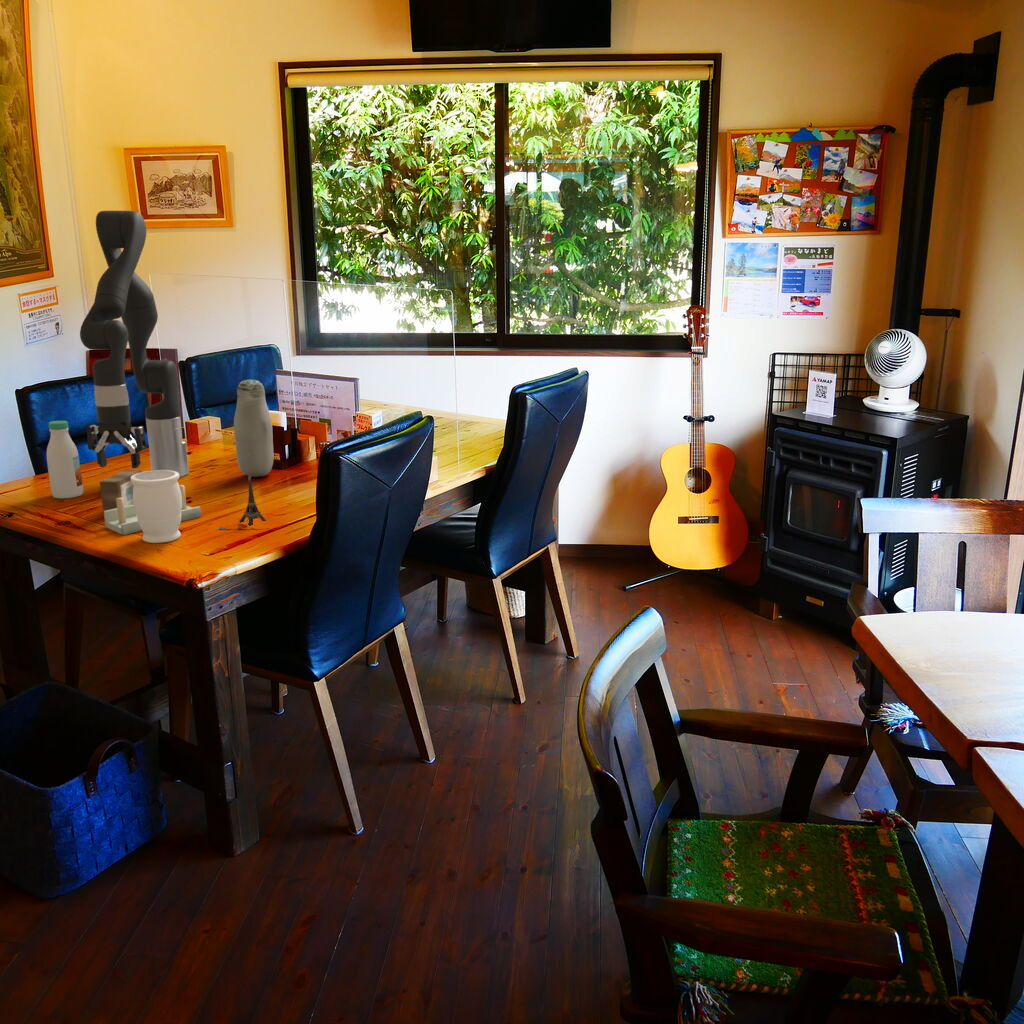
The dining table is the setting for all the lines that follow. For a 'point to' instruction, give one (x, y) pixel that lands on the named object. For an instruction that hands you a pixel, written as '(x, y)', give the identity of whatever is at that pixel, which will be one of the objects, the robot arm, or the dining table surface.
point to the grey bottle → (253, 430)
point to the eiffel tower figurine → (252, 506)
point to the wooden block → (117, 489)
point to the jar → (158, 504)
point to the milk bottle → (63, 463)
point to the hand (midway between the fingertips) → (119, 467)
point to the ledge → (127, 520)
